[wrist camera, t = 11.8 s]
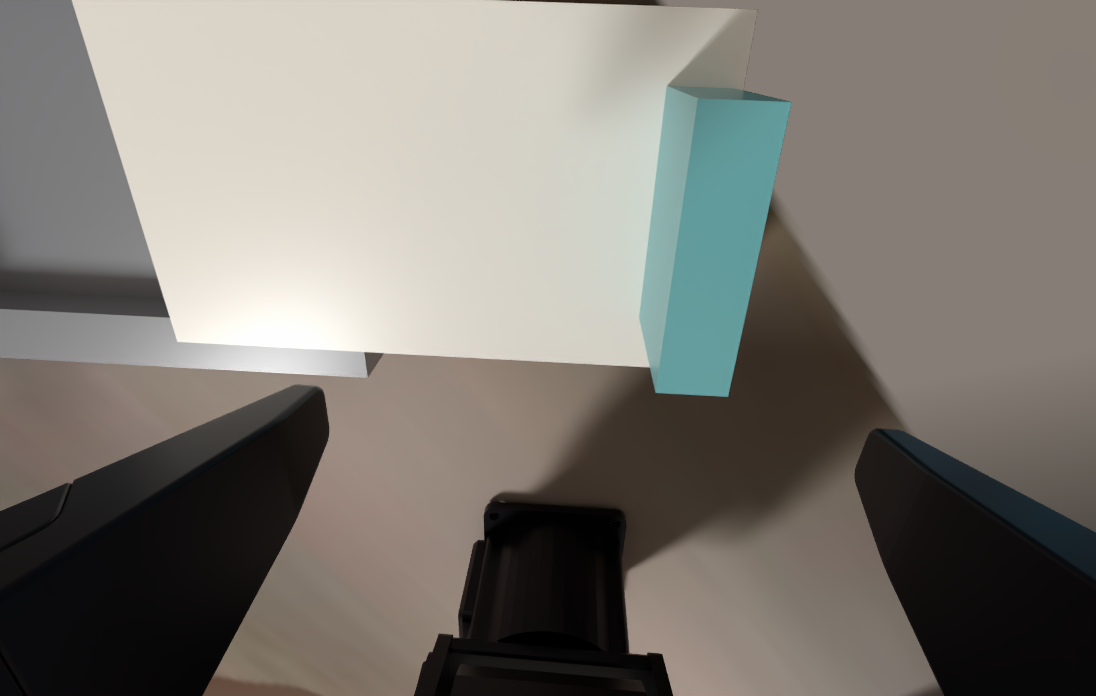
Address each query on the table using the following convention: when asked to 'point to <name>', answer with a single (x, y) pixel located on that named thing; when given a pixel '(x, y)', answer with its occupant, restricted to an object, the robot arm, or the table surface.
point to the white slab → (447, 175)
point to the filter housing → (88, 222)
